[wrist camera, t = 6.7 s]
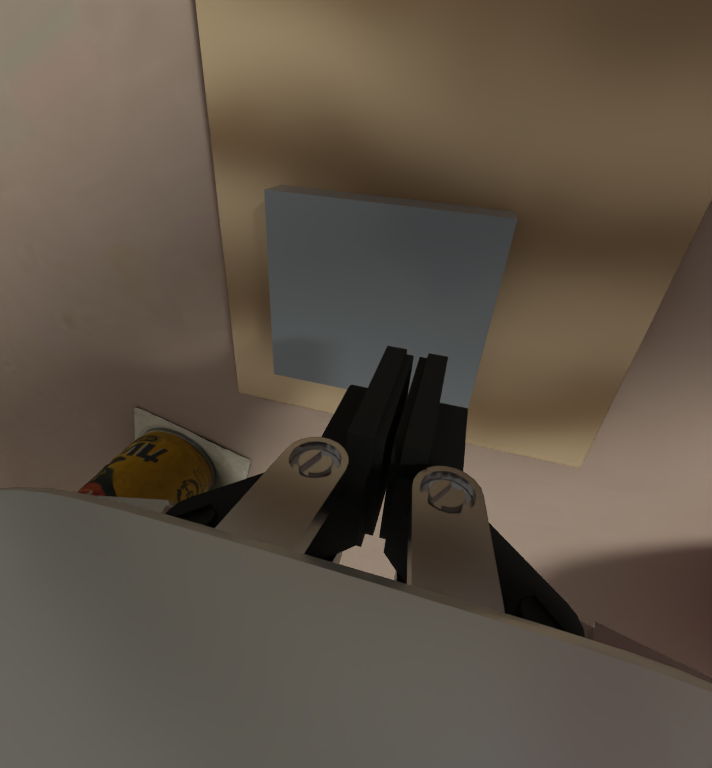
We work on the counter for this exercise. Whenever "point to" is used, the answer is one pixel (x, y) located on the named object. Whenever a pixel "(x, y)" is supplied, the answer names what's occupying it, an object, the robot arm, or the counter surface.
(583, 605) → the counter surface
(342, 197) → the slate tile
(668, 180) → the cork mat
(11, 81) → the counter surface
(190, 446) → the condiment
